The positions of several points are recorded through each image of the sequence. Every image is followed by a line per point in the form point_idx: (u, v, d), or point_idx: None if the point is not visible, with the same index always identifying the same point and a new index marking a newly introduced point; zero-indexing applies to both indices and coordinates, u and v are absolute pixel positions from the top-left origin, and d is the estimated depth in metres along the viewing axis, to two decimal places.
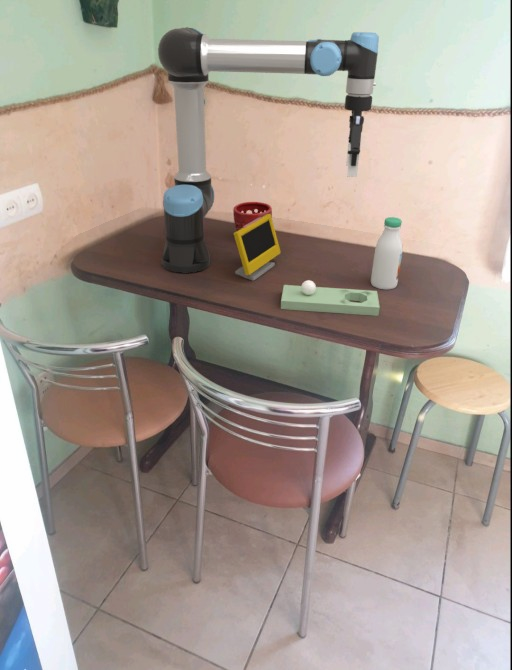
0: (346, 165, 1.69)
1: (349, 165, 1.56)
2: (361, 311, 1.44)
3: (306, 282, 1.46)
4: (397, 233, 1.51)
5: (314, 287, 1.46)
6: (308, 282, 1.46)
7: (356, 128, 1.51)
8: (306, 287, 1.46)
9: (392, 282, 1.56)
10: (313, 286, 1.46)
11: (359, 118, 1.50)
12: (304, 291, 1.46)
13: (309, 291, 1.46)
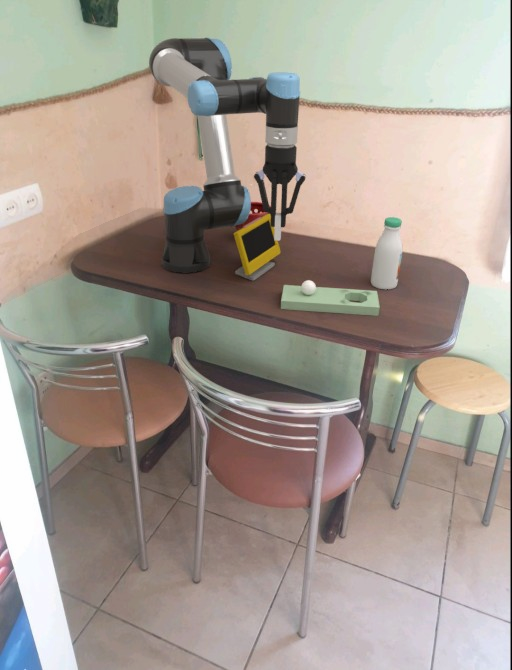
0: None
1: None
2: (361, 311, 1.44)
3: (306, 282, 1.46)
4: (397, 233, 1.51)
5: (314, 287, 1.46)
6: (308, 282, 1.46)
7: None
8: (306, 287, 1.46)
9: (392, 282, 1.56)
10: (313, 286, 1.46)
11: None
12: (304, 291, 1.46)
13: (309, 291, 1.46)
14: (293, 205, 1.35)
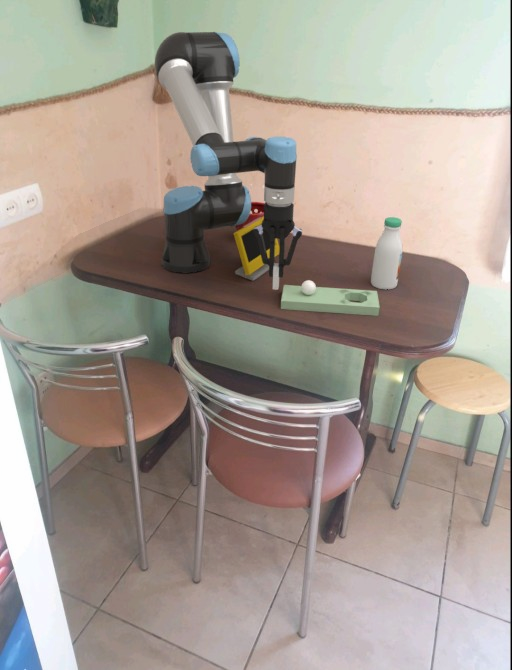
0: None
1: None
2: (361, 311, 1.44)
3: (306, 282, 1.46)
4: (397, 233, 1.51)
5: (314, 287, 1.46)
6: (308, 282, 1.46)
7: None
8: (306, 287, 1.46)
9: (392, 282, 1.56)
10: (313, 286, 1.46)
11: None
12: (304, 291, 1.46)
13: (309, 291, 1.46)
14: (290, 258, 1.42)
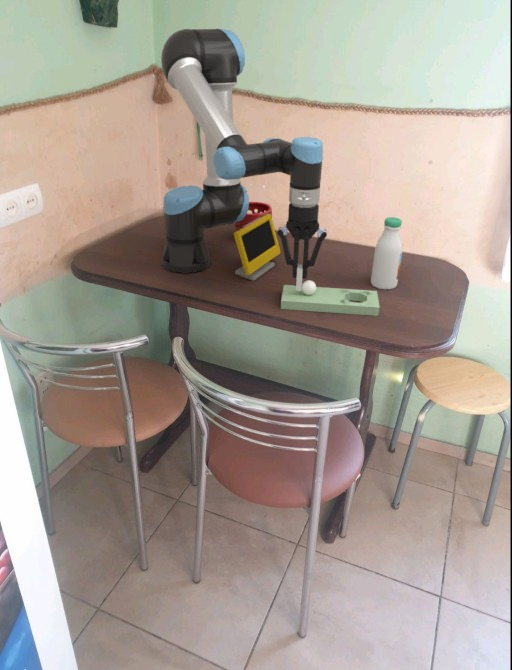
0: None
1: None
2: (361, 311, 1.44)
3: (307, 282, 1.46)
4: (397, 233, 1.51)
5: (314, 287, 1.46)
6: (309, 282, 1.46)
7: None
8: (306, 287, 1.46)
9: (392, 282, 1.56)
10: (313, 286, 1.46)
11: (278, 232, 1.40)
12: (304, 291, 1.46)
13: (310, 291, 1.46)
14: (314, 259, 1.41)
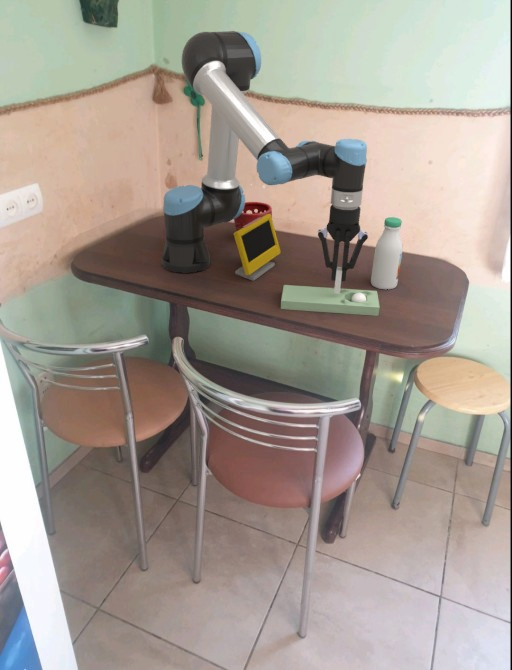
0: None
1: None
2: (361, 311, 1.44)
3: (364, 296, 1.46)
4: (397, 233, 1.51)
5: None
6: (365, 297, 1.46)
7: None
8: (360, 300, 1.45)
9: (392, 282, 1.56)
10: None
11: (318, 234, 1.39)
12: (356, 300, 1.45)
13: None
14: (354, 261, 1.41)
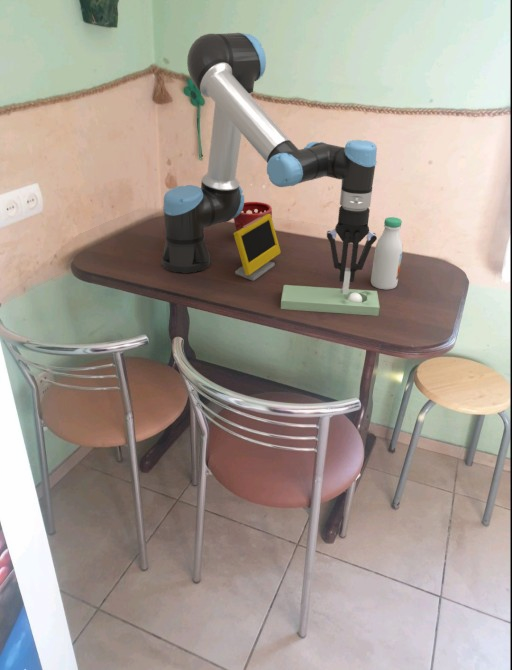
0: None
1: None
2: (361, 311, 1.44)
3: (356, 295, 1.45)
4: (397, 233, 1.51)
5: (361, 302, 1.46)
6: (358, 295, 1.45)
7: None
8: (354, 300, 1.45)
9: (392, 282, 1.56)
10: (361, 301, 1.46)
11: (327, 235, 1.39)
12: None
13: None
14: (363, 262, 1.41)
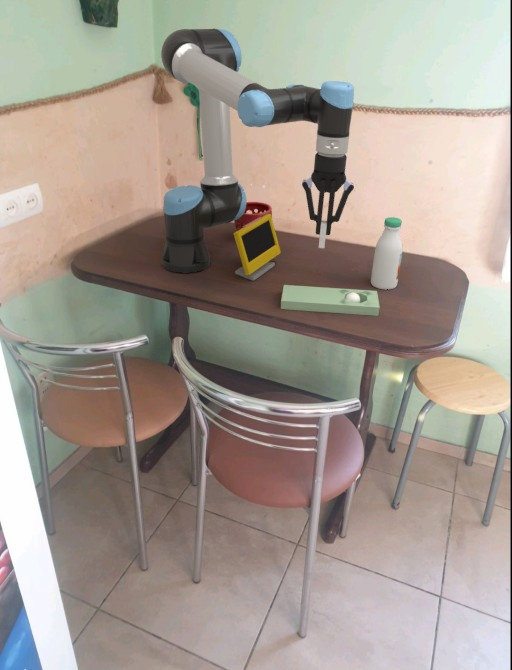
0: None
1: None
2: (361, 311, 1.44)
3: (352, 295, 1.46)
4: (397, 233, 1.51)
5: (359, 300, 1.46)
6: (354, 295, 1.45)
7: None
8: (351, 300, 1.45)
9: (392, 282, 1.56)
10: (358, 299, 1.46)
11: (302, 184, 1.33)
12: None
13: None
14: (340, 213, 1.35)
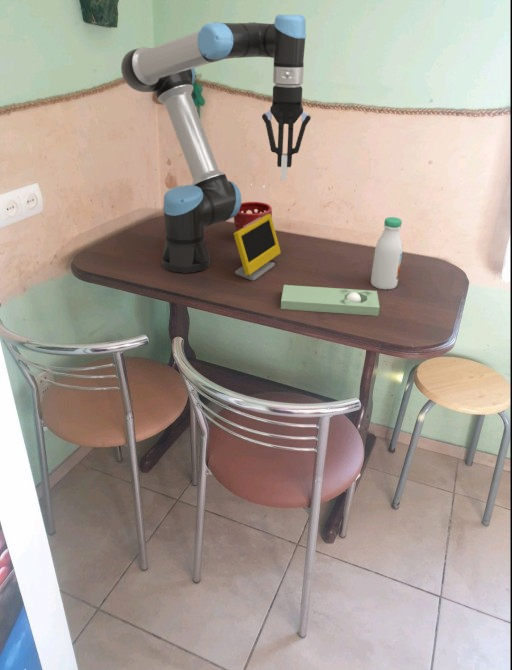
0: None
1: None
2: (361, 311, 1.44)
3: (353, 294, 1.46)
4: (397, 233, 1.51)
5: (360, 300, 1.46)
6: (355, 294, 1.46)
7: None
8: (353, 299, 1.45)
9: (392, 282, 1.56)
10: (359, 299, 1.46)
11: None
12: None
13: None
14: (299, 145, 1.43)
